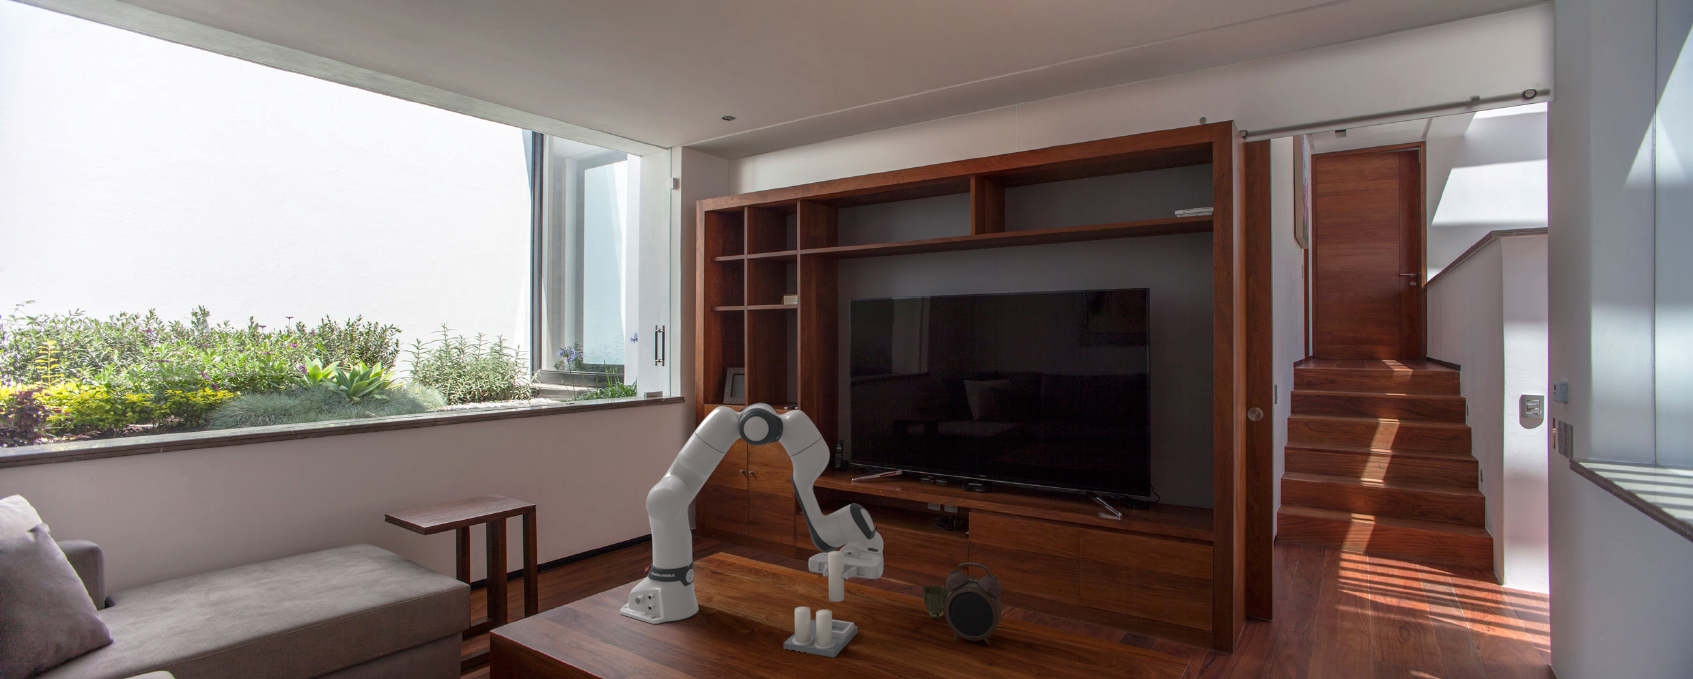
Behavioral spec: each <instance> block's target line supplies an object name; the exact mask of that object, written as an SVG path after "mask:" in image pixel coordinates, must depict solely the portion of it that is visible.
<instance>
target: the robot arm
mask: <svg viewBox="0 0 1693 679" xmlns="http://www.w3.org/2000/svg"><path fill="white" fill-rule="evenodd" d="M739 439H741V440H743V441H744V442H745V443H746V444H748V445H751V446H753V447H754V446H755V447H756V446H757V447H759V446H760V447H761V446H766V445H768V444H773V443H777V442H778V443H780V444H781V445H782V446H783V448H784V450H785V451H786V453H787V455H788V456H789V458H790V460H791V464H792V469H793V470H792V474H791V478H790V479H791V484H792V488H793V491H794V494H795V496H796V499H797V501H798V504H799V506H800V508H801V511H802V514H803V516H804V518H805V521H806V525H807V527H808V531H809V535H810V538H811V542H812V544H813V546H814V547H815V548H817V549H818V550H820V551H821V552H818V553H816V554H814V555H812V556H810V557H809V559H808V570H809V572H810V573H819V574H822V576H823V577H825V578H829V575H828V553H829V552H832V551H837V549H839V548H840V547H841V546H843V547H841V548H840V549H839V551H840V552H843V562H844V571H843V572H842V579H844V580H849V579H850V578H861V579H862V578H863V579H869V580H878V579H880V578H881V577H882V575H884V574H883V573H884V553H883V550H884V539H883V538H882V535H881V534H880V533H879V532H878V531H876V525H875V522H874V518H873V517H872V515H871V513H870V511H869V510H868V509H866V508H865V507H864V506H862V505H860V504H858V503H855V502H852V503H851V504H848V505H846V506H844V507H842V508H839V509H838V510H836V511H834V512H832V513H830V514H828V515H824V514H823V513H822V511H821V508H820V506H819V503H818V500H817V498H816V495H815V494H814V493H815V492H814V483H815V481H816V480H817V479H818V478H819V477H820V476H821V474H823V472H824V471H825V469H826V468H827V466H828V464H829V461H830V449H829V446H828V445H827V443H826V441H825V439H824V438H823V436H822V434H821V433H820V431H819V429H818V428H817V426H816V425H815V424H814V422H813V421H812V420H811V418H810V417H809V416H808V415H807V414H806V413H805V412H804V411H802V410H800V409H793V410H789V411H787V412H785V413H782V414H780V413H778V411H777V409H776V408H775V407H774V406H773V405H771V404H769V403H766V402H763V401H762V402H761V401H759V402H755V403H752V404H749V405H748V406H746V407H744V408H742V409H740V410H739V411H736V410H734V409H733V408H731V407H728V406H724V405H722V406H721V405H720V406H717V407H715V408H714V409H713V410H712V411H710V413H708V414H707V416H706V417H705V418H704V419H703V420H702V422H700V424H699V425H698V426H697V428H696V429H695V431H693V433H692V434H691V436H690V437H689V439H688V440H687V442H685V444H684V445H683V447H682V448H681V449H680V451H679V452H678V454H677V456H676V457H675V459H674V461H673V462H672V464H670V466H669V468H668V470H667V471H666V473H665V474H664V475H663V477H661V479H660V480H659V481H658V482H657V483H656V484H655V485H653V487H652V488H651V489H650V490H649V492H648V495H647V497H646V500H645V501H646V502H645V508H646V512H647V515H648V519H649V520H648V521H649V525H650V526H649V527H650V531H651V532H650V533H651V538H652V539H651V540H652V562H651V563H649V565H648V566H646V567H644V569H645V570H644V572H648V574H647V576H646V577H645V578H644V579H642V580H641V581H640V582H639V583H637V584H636V585H635V586H634V587H633V588H631V591H630V592H629V596H628V601H627V603H625V604H624V605H623V606H622V607H621V608H620V609H619V613H620V615H622V616H626V617H629V618H632V619H636V620H639V621H643V622H646V623H648V624H653V625H657V624H662V623H666V622H673V621H681V620H684V619H688V618H690V617H692V616H694V615H696V614H697V613H698V612H699V610H700V608H699V605H698V601H697V598H696V597H697V596H696V594H695V593H696V592H695V586H694V578H695V562H694V559H693V537H692V536H693V535H692V531H691V527H690V522H689V520H690V519H689V514H688V513H689V512H688V511H689V505H690V504H691V503H692V502H693V500H694V499H695V498H696V496H697V495H698V493H699V492H700V491H701V489H702V488H703V486H704V485H705V484H706V482H707V480H708V479H709V478H710V476H711V475H712V473H713V472H714V471H715V469H716V468H717V466H718V465H719V464H720V462H721V461H722V460H723V458H724V457H725V455H726V454H727V453H728V451H729V450H730V448H731V447H732V446H733V445H734V443H736V442H737V441H738V440H739Z"/></svg>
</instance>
